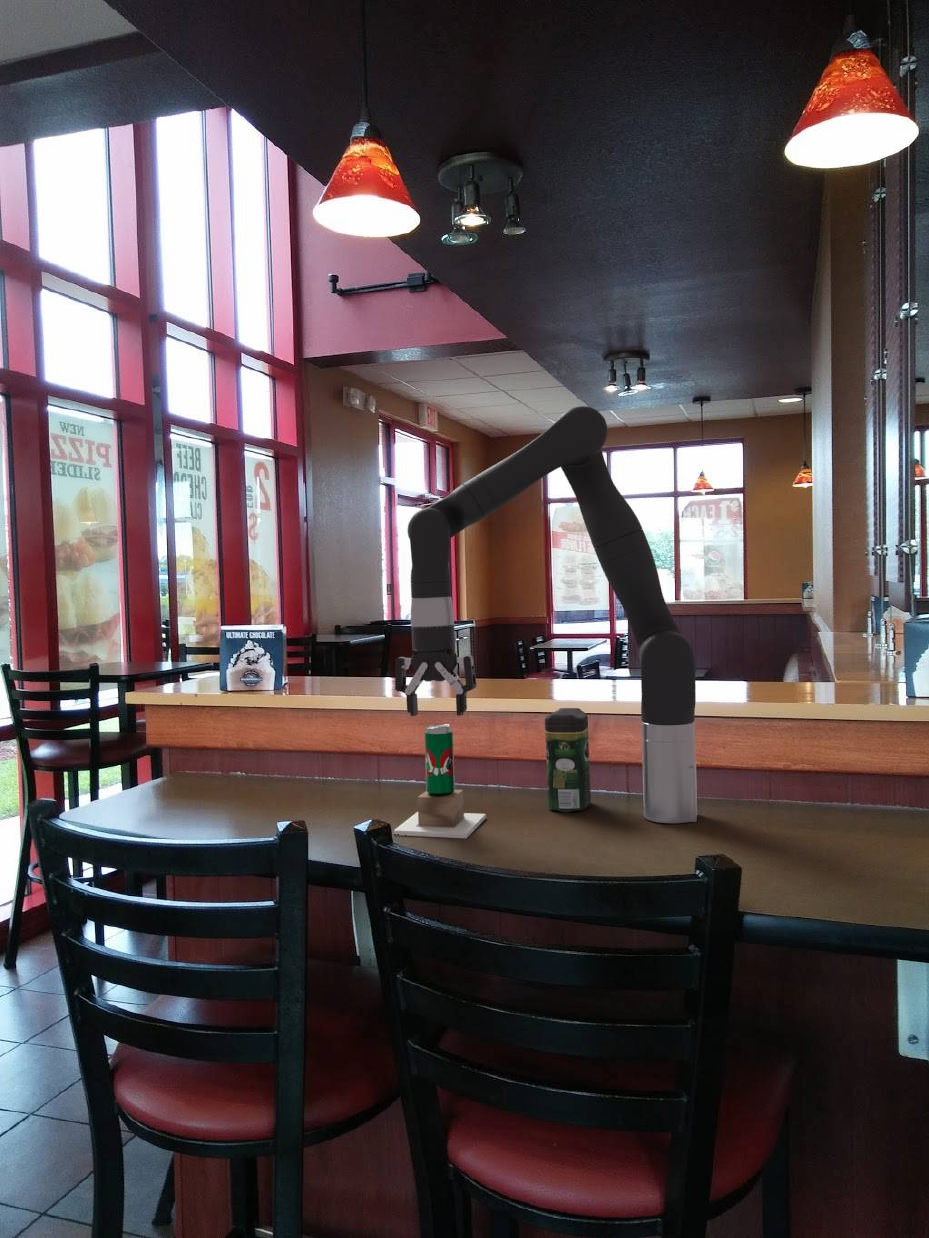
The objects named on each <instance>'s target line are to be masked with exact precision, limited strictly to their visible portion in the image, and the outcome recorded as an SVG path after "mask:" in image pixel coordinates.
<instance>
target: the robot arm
mask: <svg viewBox="0 0 929 1238" xmlns="http://www.w3.org/2000/svg"><path fill="white" fill-rule="evenodd" d="M607 424H608V423H607V421H606V419H605V417H604V416H603V414H602V413H601V412H599V411H598V410H596V409H595V408H593V407H591V406H590V407H589V406H586V405H584V406H583V405H581V406H574V407H572V408H570V409H567V410H566V411H565V412H563V413H562V414H561V415H560V417H558V419H557V420H555V422H553V423H552V425H550V426H549V427H548V428H547V429H546V430H545V431H544V432H542V433H541V434H540V435H539V436H537V437H536V438H535V439H533V440H532V441H531V442H529V443H527V444H526V445H524V446H523V447H522V448H521V449H518V450H517V451H516V452H514V453H512V454H511V455H509V456H508V457H506V458H504V459H503V460H501V461H499V462H497V463H496V464H494V465H491V466H490V467H488V468H487V469H485V470H483V471H482V472H480V473H479V474H477V475H475V476H474V477H472V478H471V479H469V480H467V481H466V482H464V483H463V484H461V485H460V486H458V487H456V488H455V489H454V490H453V491H452V492H451V493H450V494H448V495H447V496H446V497H444V498H442V499H441V500H439V501H436V502H435V503H433V504H431V505H430V506H428V507H425V508H422V509H419V510H418V511H416V512H415V513H414V514H413V516H412V517H410V520H409V522H408V524H407V536H408V538H409V539H408V540H409V543H410V546H409V547H410V557H411V570H410V595H411V598H410V599H411V607H410V620H409V621H410V625H411V626H410V627H411V629H410V630H411V643H412V644H411V645H412V646H411V648H412V656H411V657H405V656H400V657H396V659H395V664H394V665H395V667H394V669H395V672H394V676H395V677H394V683H395V685H394V688H395V691H396V692H401V693H402V694H403V693H404V695H405V698H406V710H407V713H409V715H410V716H411V717H416V716H418V714H419V708H418V704H419V703H418V693H416V691H417V690H418V689H419V687H420V686H421V684H422V683H423V682H427V683H428V682H431V681H432V682H433V681H435V682H444V681H446V682H447V683H448V685H450V686H451V687H452V688H453V690H454V691H455V693H456V694H455V702H456V705H455V706H456V716H457V717H458V716H460V717H461V716H463V715H464V713H465V712H466V711H467V710H468V708H467V707H468V706H467V705H468V703H467V702H468V701H467V693H468V692H470V691H473V690H474V689H476V688H477V677H476V669H475V668H476V667H475V666H476V665H475V658H474V656H473V655H472V654H469V655H466V656H458V655H457V652H456V638H455V637H456V636H455V635H456V634H455V617H454V616H455V615H454V614H455V613H454V606H453V605H454V604H453V600H452V598H453V597H452V586H451V585H452V583H451V582H452V581H451V574H450V549H451V548H450V547H451V546H450V544H451V541H450V540H451V539H452V538H453V537H454V536H456V535H458V534H459V533H460V532H462V531H463V530H465V529H466V528H468V527H470V526H471V525H475V524H476V523H478V522H480V521H482V520H483V519H485V518H487V517H489V515H490V516H491V515H492V514H493V513H494V512H497V510H499V509H501V508H502V507H504V506H505V505H507V504H509V503H510V502H512V501H513V500H514V499H516V498H517V497H518V496H519V495H520V494H522V493H523V492H525V490H527V489H529V487H531V486H533V485H534V484H536V483H537V482H538V481H539V480H541V479H542V478H544V477H545V476H547V475H549V474H550V473H553V472H554V471H555V470H558V469H559V468H560V469H561V471H562V472H563V474H564V476H565V477H566V480H567V482H568V484H569V485H570V487H571V489H572V491H573V493H574V496H575V498H576V501H577V505H578V507H579V511H580V513H581V516H582V519H583V523H584V525H585V528H586V530H587V533H588V537H589V539H590V543H591V545H592V547H593V549H594V552H595V555H596V557H597V559H598V562H599V564H600V567H601V569H602V571H603V574H604V577H605V578H606V579H607V581H608V583H609V585H610V588H611V589H612V591H613V594H614V595H615V597H616V598H617V600H618V601H619V603H620V605H621V607H622V609H623V610H624V612H625V615H626V617H627V620H628V622H629V626H630V629H631V632H632V636H633V639H634V642H635V646H636V649H637V654H638V659H639V660H638V661H639V663H640V684H641V686H640V687H641V700H640V701H641V706H640V713H641V714H640V715H641V716H640V720H641V754H642V755H641V758H642V761H641V762H642V794H643V796H642V797H643V798H642V799H643V802H642V803H643V804H642V806H643V817H644V819H646V820H647V821H650V822H655V823H662V824H683V823H684V824H685V823H696V822H697V818H698V793H697V792H698V789H697V788H698V787H697V786H698V785H697V783H698V781H697V761H696V731H695V729H696V725H695V711H696V710H695V709H696V702H697V701H696V699H697V697H696V657H695V652H694V648H693V647H692V644H691V643H690V642H689V641H688V639H687V638H685V637H684V635H683V633H682V632H681V631H680V629H679V627H678V625H677V623H676V622H675V619H674V617H673V615H672V613H671V611H670V609H669V607H668V605H667V603H666V600H665V598H664V594H663V590H662V586H661V581H660V577H659V573H658V569H657V565H656V564H657V563H656V562H655V558H654V555H653V552H652V550H651V546H650V543H649V541H648V539H647V537H646V533H645V532H644V529H643V527H642V524H641V522H640V520H639V518H638V516H637V515H636V513H635V512H634V509H632V507H631V506H630V504H629V503H628V502H627V499H625V498H624V496H623V495H622V494H621V492H620V491H619V490H618V487H616V485H615V484H614V482H613V479H612V476H611V474H610V471H609V468H608V466H607V463H606V461H605V457H604V454H603V451H602V449H603V448H604V446H605V444H606V442H607V437H608V425H607ZM458 664H459V665H460V667H461V668H462V669H464V670H463V671H464V678H465V683H464V682H463V681H462V680H461V678H460V676H459V675H458V674H457V672H456V671H455V668H456V667H457V666H458ZM410 666H412V668H413V669H414V671H415V673H414V675H413V676H412V678H411V679H410V682H409V683H408V684H407V670H409V668H410Z"/></svg>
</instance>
